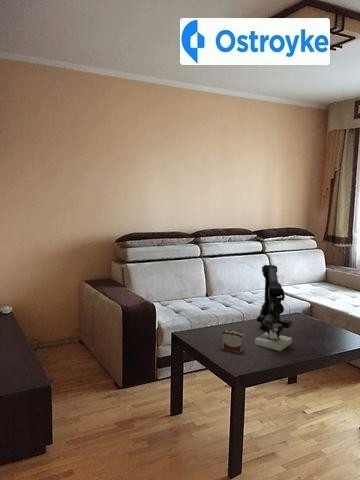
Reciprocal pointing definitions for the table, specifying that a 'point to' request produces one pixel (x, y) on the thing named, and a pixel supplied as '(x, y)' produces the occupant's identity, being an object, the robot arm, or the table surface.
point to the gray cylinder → (273, 334)
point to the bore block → (273, 342)
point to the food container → (232, 340)
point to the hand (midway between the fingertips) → (273, 336)
